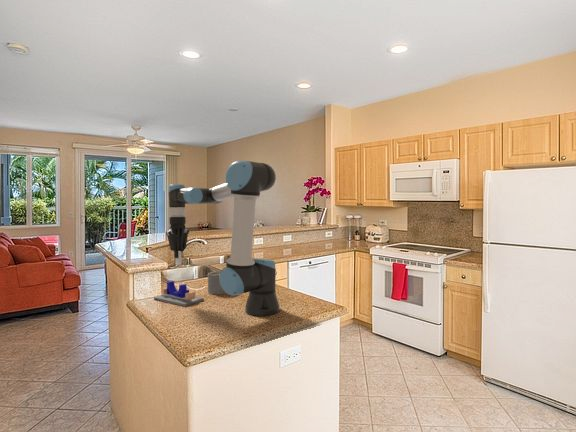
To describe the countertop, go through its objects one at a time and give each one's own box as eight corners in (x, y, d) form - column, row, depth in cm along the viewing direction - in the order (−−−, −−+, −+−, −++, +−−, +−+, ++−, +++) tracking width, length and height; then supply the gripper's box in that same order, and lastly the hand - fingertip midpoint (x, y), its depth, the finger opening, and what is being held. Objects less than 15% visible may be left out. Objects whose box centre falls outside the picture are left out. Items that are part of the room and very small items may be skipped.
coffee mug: (227, 293, 186) (227, 274, 185) (208, 294, 183) (207, 275, 183) (226, 287, 199) (225, 269, 198) (207, 288, 196) (207, 270, 196)
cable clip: (189, 295, 172) (189, 283, 172) (181, 297, 169) (181, 285, 168) (175, 292, 180) (174, 280, 179) (167, 293, 176) (166, 281, 176)
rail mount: (203, 300, 173) (203, 290, 173) (184, 306, 163) (184, 296, 162) (173, 294, 184) (173, 284, 184) (153, 299, 174) (153, 289, 174)
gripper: (182, 215, 179) (183, 261, 180) (161, 216, 168) (162, 265, 169) (193, 215, 175) (194, 263, 176) (171, 216, 164) (173, 267, 165)
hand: (178, 264), depth 173 cm, fingers closed
